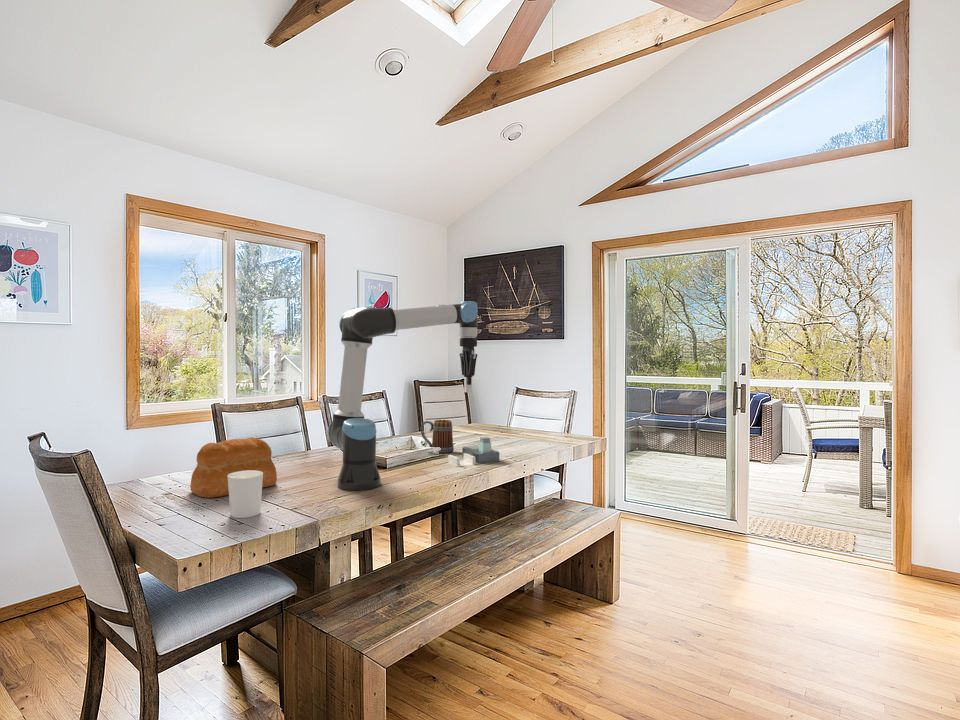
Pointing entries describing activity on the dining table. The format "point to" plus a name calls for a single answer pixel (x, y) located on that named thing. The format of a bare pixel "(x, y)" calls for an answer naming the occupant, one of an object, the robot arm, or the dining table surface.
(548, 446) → the dining table surface
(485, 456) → the port panel
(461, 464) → the holster
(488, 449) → the plug
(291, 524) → the dining table surface
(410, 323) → the robot arm
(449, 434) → the mug
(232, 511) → the candle holder
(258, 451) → the bread
